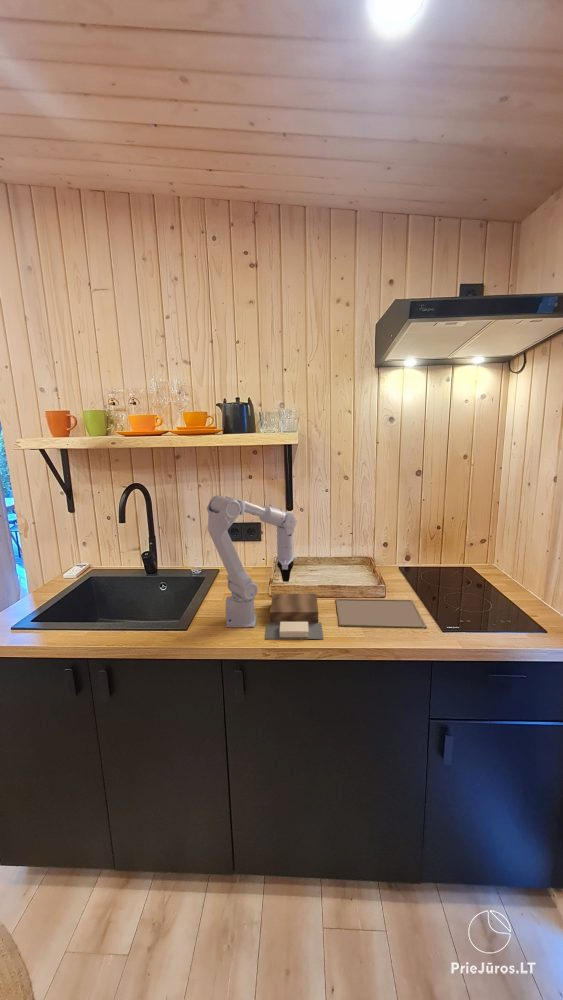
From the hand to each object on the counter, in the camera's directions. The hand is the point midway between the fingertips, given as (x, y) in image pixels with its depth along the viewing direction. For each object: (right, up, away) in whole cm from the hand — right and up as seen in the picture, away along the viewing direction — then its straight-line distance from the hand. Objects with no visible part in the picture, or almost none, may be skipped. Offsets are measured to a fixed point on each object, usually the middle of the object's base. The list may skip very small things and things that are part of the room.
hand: (285, 581), depth 145 cm
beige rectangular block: (+2, -11, -17) cm, 21 cm away
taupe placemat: (+32, -11, -5) cm, 34 cm away
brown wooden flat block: (+3, -10, -4) cm, 12 cm away
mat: (+2, -13, -16) cm, 21 cm away
